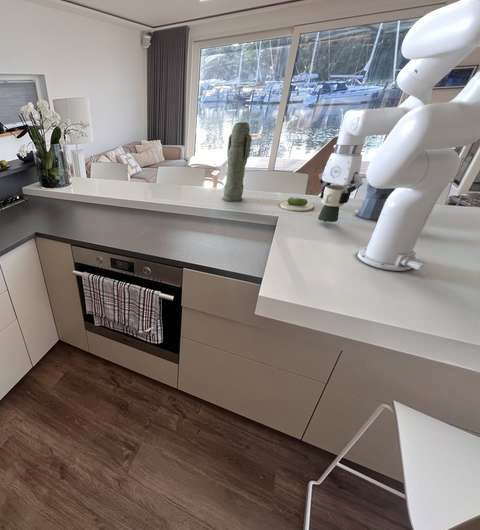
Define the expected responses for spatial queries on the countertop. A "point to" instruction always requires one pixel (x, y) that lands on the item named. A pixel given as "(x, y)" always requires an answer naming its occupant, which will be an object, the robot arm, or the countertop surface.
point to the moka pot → (374, 202)
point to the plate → (296, 206)
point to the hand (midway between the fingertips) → (333, 200)
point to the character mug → (331, 203)
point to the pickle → (297, 201)
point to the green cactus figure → (237, 161)
